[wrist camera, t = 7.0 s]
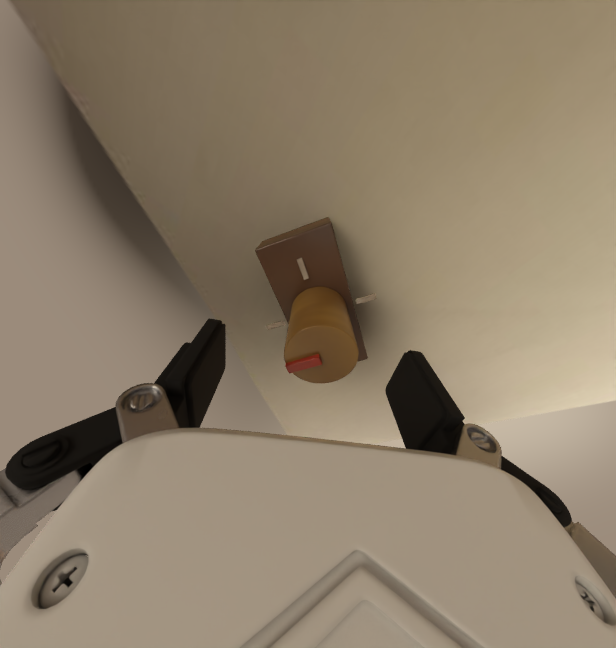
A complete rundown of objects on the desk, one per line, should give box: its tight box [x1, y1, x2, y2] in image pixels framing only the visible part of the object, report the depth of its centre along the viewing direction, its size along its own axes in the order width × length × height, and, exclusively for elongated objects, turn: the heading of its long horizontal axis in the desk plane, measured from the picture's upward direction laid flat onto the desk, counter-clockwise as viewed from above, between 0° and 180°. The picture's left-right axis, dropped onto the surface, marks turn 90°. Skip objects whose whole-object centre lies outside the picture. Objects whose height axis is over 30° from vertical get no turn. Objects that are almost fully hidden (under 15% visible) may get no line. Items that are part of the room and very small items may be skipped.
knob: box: [284, 287, 359, 383], centre depth 14 cm, size 4×4×5 cm
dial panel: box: [255, 217, 376, 361], centre depth 18 cm, size 11×8×3 cm
